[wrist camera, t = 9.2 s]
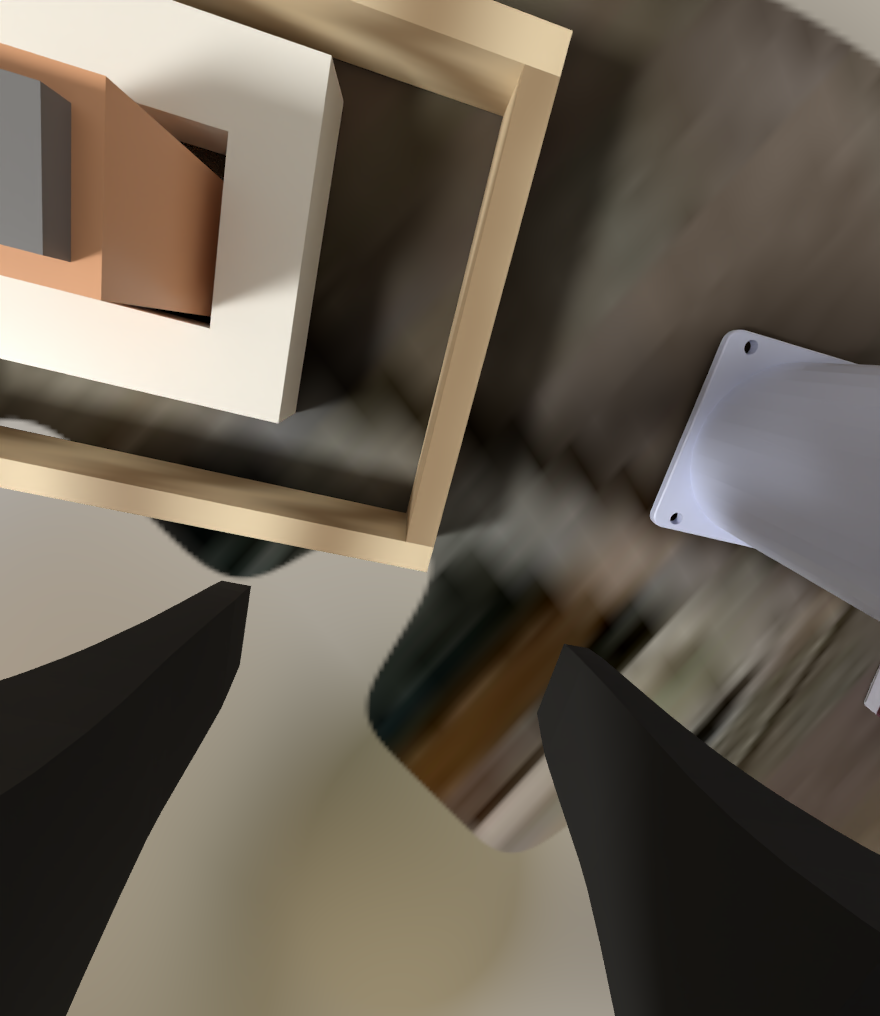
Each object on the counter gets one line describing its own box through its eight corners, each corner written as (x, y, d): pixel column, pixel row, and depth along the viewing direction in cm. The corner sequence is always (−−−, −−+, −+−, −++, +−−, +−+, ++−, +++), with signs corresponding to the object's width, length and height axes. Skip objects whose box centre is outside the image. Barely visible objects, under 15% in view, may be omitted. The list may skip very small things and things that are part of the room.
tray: (541, 90, 15) (572, 30, 12) (424, 539, 20) (426, 572, 17) (-177, -168, 12) (-352, -322, 9) (-110, 428, 17) (-213, 445, 14)
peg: (234, 191, 15) (77, 51, 8) (222, 318, 17) (76, 296, 9) (105, 153, 15) (-191, -35, 8) (102, 287, 16) (-155, 238, 9)
